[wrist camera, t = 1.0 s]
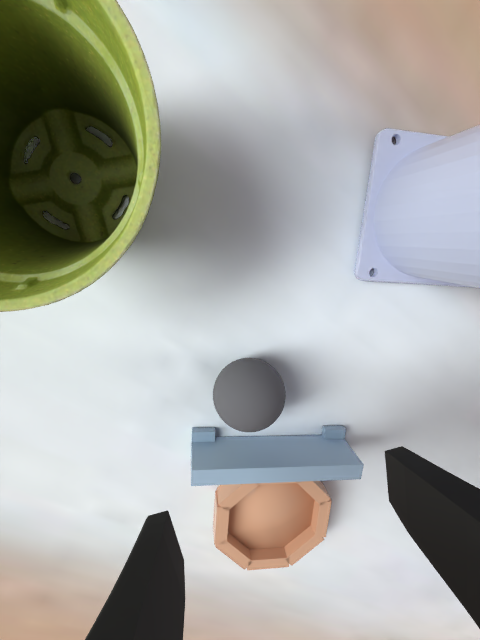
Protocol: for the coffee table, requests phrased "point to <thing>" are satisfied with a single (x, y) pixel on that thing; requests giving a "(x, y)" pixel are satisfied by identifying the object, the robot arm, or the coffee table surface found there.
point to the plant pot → (71, 145)
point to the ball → (249, 395)
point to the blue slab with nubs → (272, 458)
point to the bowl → (270, 522)
